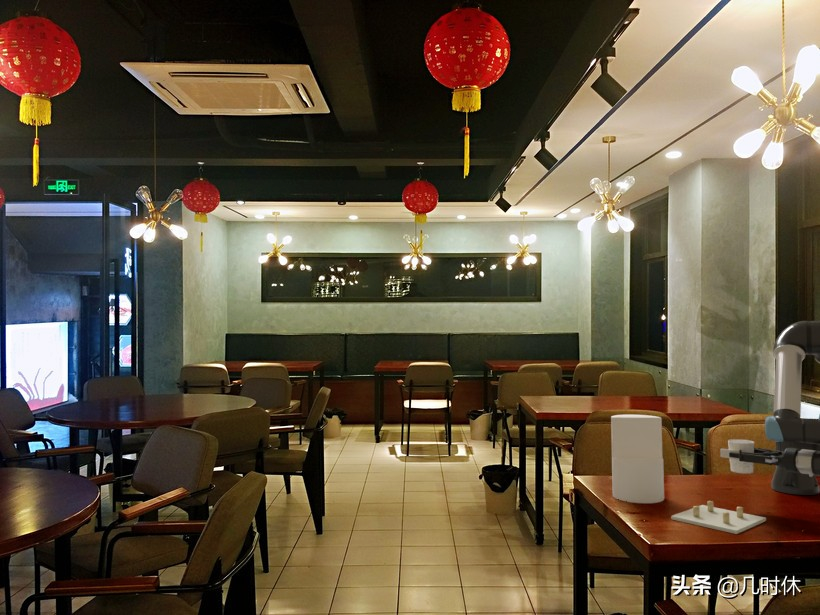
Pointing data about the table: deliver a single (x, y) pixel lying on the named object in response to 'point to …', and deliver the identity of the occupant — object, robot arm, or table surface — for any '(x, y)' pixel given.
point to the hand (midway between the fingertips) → (726, 451)
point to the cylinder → (637, 458)
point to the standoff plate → (719, 518)
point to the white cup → (744, 446)
